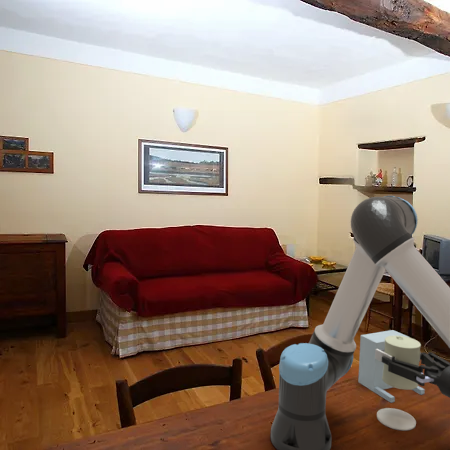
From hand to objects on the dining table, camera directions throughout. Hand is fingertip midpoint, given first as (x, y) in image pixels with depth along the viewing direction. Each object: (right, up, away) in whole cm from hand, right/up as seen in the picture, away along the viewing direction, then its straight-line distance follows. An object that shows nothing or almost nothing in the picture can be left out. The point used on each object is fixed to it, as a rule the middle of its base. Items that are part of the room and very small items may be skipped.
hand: (388, 350), depth 117 cm
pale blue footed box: (+7, -16, +15) cm, 23 cm away
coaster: (+1, -18, -3) cm, 19 cm away
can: (+2, -8, -3) cm, 9 cm away
